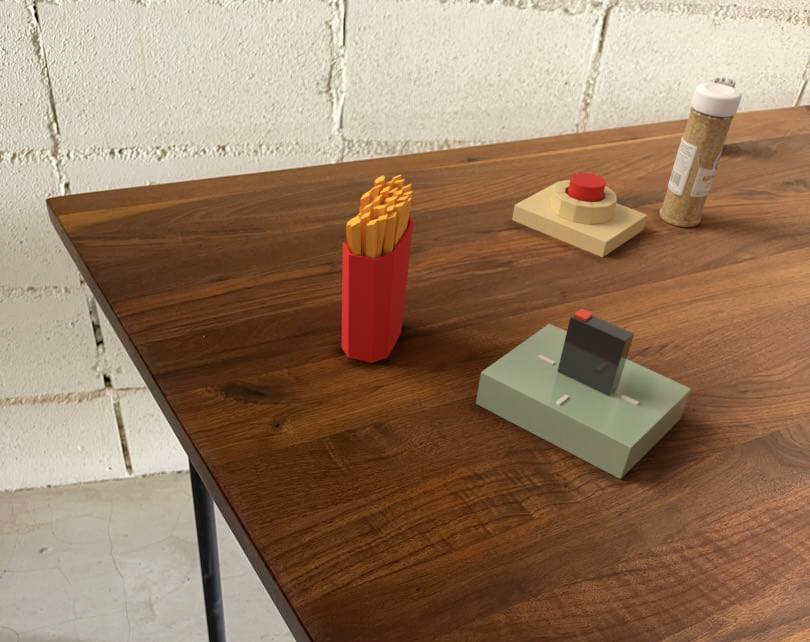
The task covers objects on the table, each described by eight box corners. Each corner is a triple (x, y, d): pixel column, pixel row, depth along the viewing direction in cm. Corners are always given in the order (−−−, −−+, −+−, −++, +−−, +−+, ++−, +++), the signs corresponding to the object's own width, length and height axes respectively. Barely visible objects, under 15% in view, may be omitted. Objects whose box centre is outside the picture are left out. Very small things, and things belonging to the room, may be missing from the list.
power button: (608, 197, 92) (612, 180, 91) (591, 207, 90) (595, 190, 89) (578, 186, 93) (582, 169, 92) (560, 195, 91) (564, 179, 90)
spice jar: (701, 231, 95) (745, 99, 86) (658, 225, 95) (698, 93, 86) (697, 213, 98) (740, 84, 89) (656, 207, 99) (694, 78, 89)
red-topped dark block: (617, 388, 67) (635, 330, 64) (609, 396, 66) (626, 338, 63) (565, 363, 69) (580, 306, 66) (556, 371, 68) (570, 313, 65)
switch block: (643, 230, 94) (652, 198, 92) (602, 257, 89) (610, 224, 87) (555, 195, 99) (562, 164, 96) (511, 220, 93) (517, 187, 91)
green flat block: (679, 419, 70) (692, 386, 68) (620, 479, 64) (631, 445, 62) (542, 354, 75) (549, 321, 73) (475, 403, 70) (481, 370, 67)
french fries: (363, 309, 78) (371, 161, 69) (409, 319, 78) (424, 171, 68) (329, 364, 72) (333, 208, 63) (380, 375, 71) (391, 220, 62)
